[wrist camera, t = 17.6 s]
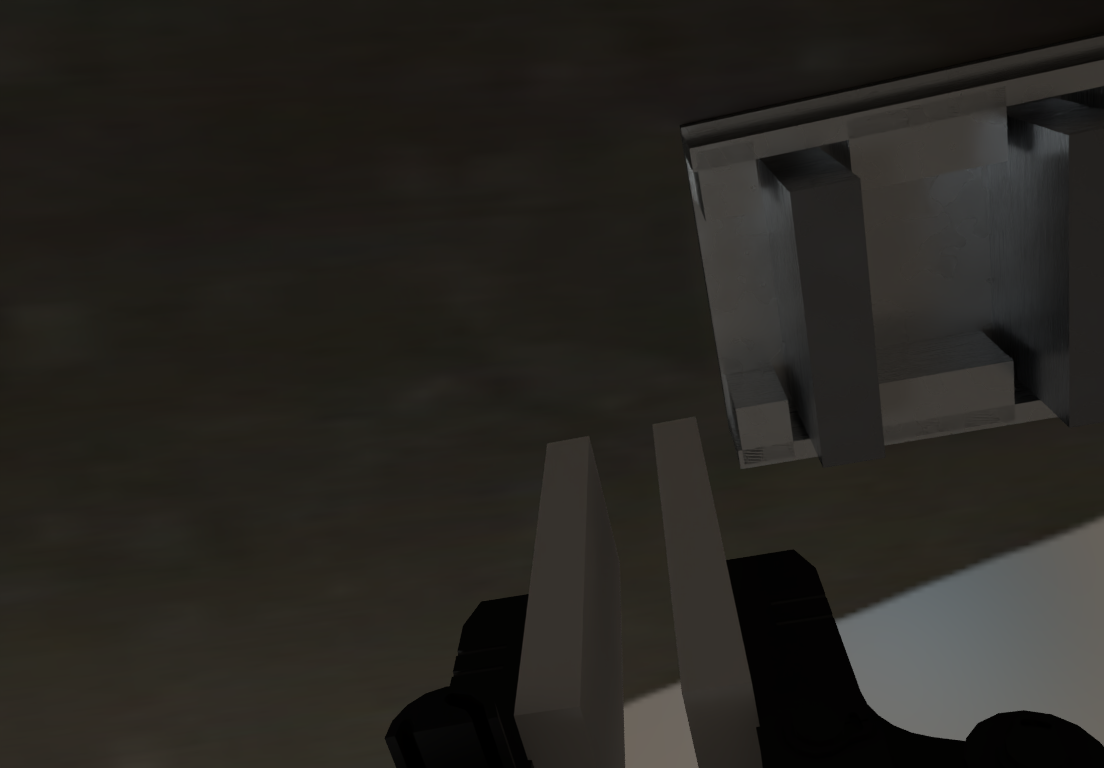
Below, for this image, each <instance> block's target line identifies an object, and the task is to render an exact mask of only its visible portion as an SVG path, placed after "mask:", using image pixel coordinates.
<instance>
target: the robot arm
mask: <svg viewBox="0 0 1104 768" xmlns="http://www.w3.org/2000/svg"><path fill="white" fill-rule="evenodd" d="M653 434H654V443H655V452H656V461H657V470H658V479H659V488H660V497H661V506H662V516H663V525H664V534H665V543H666V552H667V561H668V570H669V579H670V588H671V597H672V607H673V616H674V625H675V634H676V643H677V652H678V661H679V670H680V679H681V689H682V695H683V699H684V704H685V708H686V712H687V717H688V721H689V726H690V731H691V735H692V739H693V744H694V748H695V753H696V757H697V762H698V766H699V768H1104V747H1103V745H1102V744H1101V743H1100V742H1099V741H1098V740H1096V739H1095V738H1094V737H1092V736H1091V735H1090V734H1088V733H1087V732H1086V731H1085V730H1083V729H1082V728H1081V727H1079V726H1078V725H1076V724H1073V723H1071V722H1069V721H1066V720H1064V719H1061V718H1059V717H1056V716H1054V715H1052V714H1044V713H1038V712H1031V711H1024V710H1023V711H1015V712H1006V713H998V714H996V715H994V716H992V717H990V718H988V719H986V720H984V721H982V722H980V723H978V724H977V725H976V726H975V728H974V729H973V730H972V732H971V733H970V734H969V736H968V737H967V738H966V741H960V740H952V739H943V738H935V737H929V736H925V735H920V734H915V733H911V732H909V731H906V730H904V729H901V728H899V727H896V726H894V725H892V724H890V723H889V722H888V721H886V720H885V719H883V718H881V717H880V716H878V714H876V712H875V711H874V710H873V709H871V707H870V706H869V705H867V703H866V701H865V699H864V697H863V695H862V693H861V692H860V689H859V686H858V684H857V680H856V678H855V675H854V672H853V669H852V667H851V664H850V661H849V659H848V656H847V653H846V650H845V647H844V645H843V642H842V639H841V636H840V634H839V631H838V628H837V625H836V623H835V620H834V618H833V616H832V611H831V609H830V606H829V603H828V600H827V598H826V597H825V592H824V589H823V587H822V584H821V581H820V578H819V576H818V573H817V570H816V568H815V567H814V566H813V565H811V564H810V563H809V562H808V561H807V560H805V559H804V558H803V557H802V556H801V555H800V554H798V553H797V552H796V551H795V550H794V549H793V550H787V551H781V552H775V553H768V554H762V555H756V556H750V557H743V558H737V559H731V560H726V558H725V554H724V549H723V544H722V539H721V535H720V530H719V525H718V520H717V516H716V511H715V506H714V501H713V497H712V492H711V487H710V483H709V478H708V473H707V468H706V464H705V459H704V454H703V449H702V445H701V440H700V435H699V431H698V426H697V421H696V417H690V418H685V419H679V420H674V421H668V422H663V423H657V424H653ZM453 674H454V677H452V679H451V684H450V686H449V687H444V688H441V689H438V690H435V691H432V692H429V693H426V694H424V695H423V696H421V697H419V698H418V699H416V700H415V701H413V702H411V703H410V704H408V705H407V706H406V707H405V708H404V709H403V710H402V711H401V712H400V713H399V714H398V715H397V717H396V718H395V719H394V720H393V721H392V723H391V725H390V727H389V730H388V732H387V734H386V736H385V740H386V743H387V745H388V748H389V750H390V753H391V755H392V758H393V760H394V763H395V765H396V768H625V748H624V711H623V673H622V635H621V598H620V562H619V558H618V554H617V550H616V546H615V542H614V537H613V533H612V529H611V525H610V521H609V517H608V513H607V508H606V504H605V500H604V496H603V492H602V488H601V483H600V479H599V475H598V471H597V467H596V463H595V459H594V454H593V450H592V446H591V442H590V438H589V436H586V437H581V438H575V439H570V440H564V441H559V442H553V443H548V444H547V451H546V459H545V467H544V475H543V483H542V491H541V499H540V507H539V516H538V524H537V532H536V540H535V548H534V556H533V564H532V572H531V580H530V588H529V594H526V595H520V596H514V597H508V598H501V599H495V600H489V601H482V602H481V603H480V604H479V605H478V607H477V608H476V609H475V611H474V612H473V613H472V615H471V616H470V617H469V619H468V620H467V621H466V623H465V624H464V625H463V629H462V633H461V638H460V643H459V647H458V656H456V661H455V665H454V670H453Z"/></svg>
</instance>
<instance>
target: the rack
mask: <svg viewBox="0 0 1104 768" xmlns="http://www.w3.org/2000/svg"><path fill="white" fill-rule="evenodd" d="M680 130H681V136H682V142H683V149H684V155H685V161H686V167H687V173H688V179H689V185H690V191H691V198H692V204H693V210H694V216H695V222H696V228H697V234H698V241H699V247H700V253H701V259H702V265H703V271H704V277H705V283H706V290H707V296H708V302H709V308H710V314H711V320H712V326H713V332H714V339H715V345H716V351H717V357H718V363H719V369H720V375H721V381H722V388H723V394H724V400H725V406H726V412H727V418H728V424H729V430H730V434H731V437H732V439H733V443H734V446H735V450H736V453H737V457H738V460H739V464H740V468H741V469H744V468H750V467H757V466H763V465H769V464H775V463H781V462H787V461H793V460H799V459H805V458H811V457H817V456H818V457H819V460H820V462H821V464H822V466H823V468H824V467H831V466H837V465H843V464H849V463H855V462H861V461H867V460H873V459H880V458H885V447H884V445H890V444H896V443H902V442H908V441H914V440H920V439H926V438H932V437H938V436H944V435H950V434H957V433H963V432H969V431H975V430H981V429H987V428H993V427H999V426H1005V425H1011V424H1017V423H1023V422H1029V421H1035V420H1041V419H1047V418H1053V417H1059V418H1060V419H1061V420H1062V421H1063V422H1064V423H1065V424H1066V425H1067V426H1068V427H1076V426H1082V425H1088V424H1094V423H1100V422H1104V33H1101V34H1096V35H1091V36H1087V37H1082V38H1078V39H1073V40H1069V41H1064V42H1059V43H1055V44H1050V45H1046V46H1041V47H1037V48H1032V49H1027V50H1023V51H1018V52H1014V53H1009V54H1005V55H1000V56H995V57H991V58H986V59H982V60H977V61H973V62H968V63H963V64H959V65H954V66H950V67H945V68H941V69H936V70H931V71H927V72H922V73H918V74H913V75H909V76H904V77H899V78H895V79H890V80H886V81H881V82H877V83H872V84H867V85H863V86H858V87H854V88H849V89H845V90H840V91H835V92H831V93H826V94H822V95H817V96H813V97H808V98H803V99H799V100H794V101H790V102H785V103H781V104H776V105H771V106H767V107H762V108H758V109H753V110H749V111H744V112H739V113H735V114H730V115H726V116H721V117H717V118H712V119H707V120H703V121H698V122H694V123H689V124H685V125H680Z"/></svg>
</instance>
